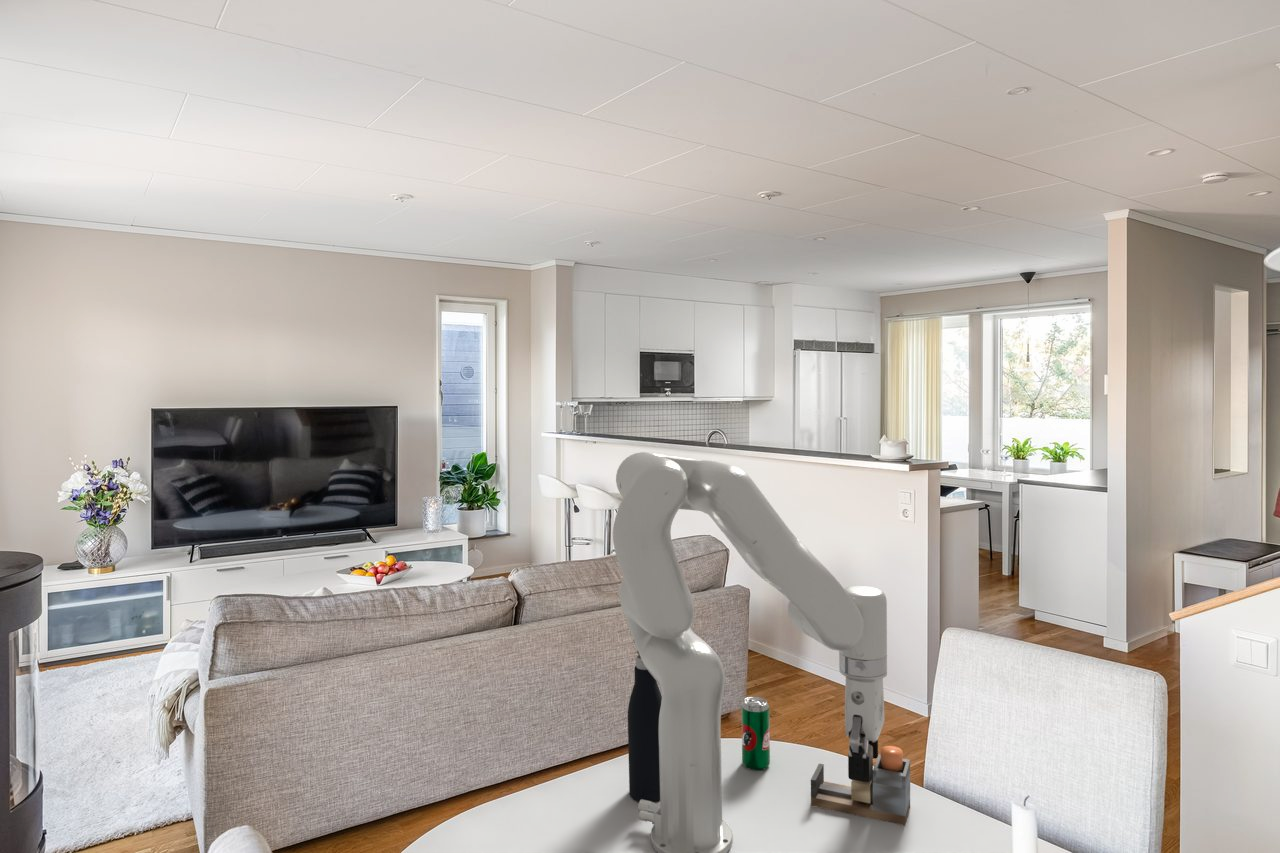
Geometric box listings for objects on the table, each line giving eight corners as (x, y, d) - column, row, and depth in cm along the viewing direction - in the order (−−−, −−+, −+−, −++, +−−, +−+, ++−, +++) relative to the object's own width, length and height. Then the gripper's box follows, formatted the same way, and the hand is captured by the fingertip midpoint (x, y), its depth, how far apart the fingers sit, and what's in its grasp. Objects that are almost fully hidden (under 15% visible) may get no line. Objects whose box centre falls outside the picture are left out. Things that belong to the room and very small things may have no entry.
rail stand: (811, 805, 134) (810, 758, 133) (819, 788, 139) (818, 743, 138) (905, 825, 127) (905, 776, 127) (910, 807, 132) (910, 759, 132)
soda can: (769, 772, 145) (768, 707, 144) (741, 770, 146) (740, 705, 145) (770, 759, 150) (769, 696, 149) (743, 757, 151) (742, 694, 150)
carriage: (851, 799, 131) (851, 751, 131) (856, 785, 136) (856, 738, 135) (870, 803, 130) (870, 755, 129) (875, 788, 134) (875, 742, 134)
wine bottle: (624, 800, 136) (620, 626, 134) (635, 782, 143) (632, 615, 141) (661, 805, 135) (657, 629, 133) (670, 786, 141) (667, 618, 139)
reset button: (879, 769, 130) (879, 753, 129) (882, 759, 133) (882, 744, 132) (901, 773, 128) (901, 757, 128) (904, 763, 131) (904, 748, 131)
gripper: (878, 685, 122) (878, 798, 123) (894, 649, 137) (894, 749, 139) (828, 679, 125) (829, 788, 126) (849, 644, 141) (850, 741, 142)
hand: (863, 767), depth 132 cm, fingers open, 7 cm apart
